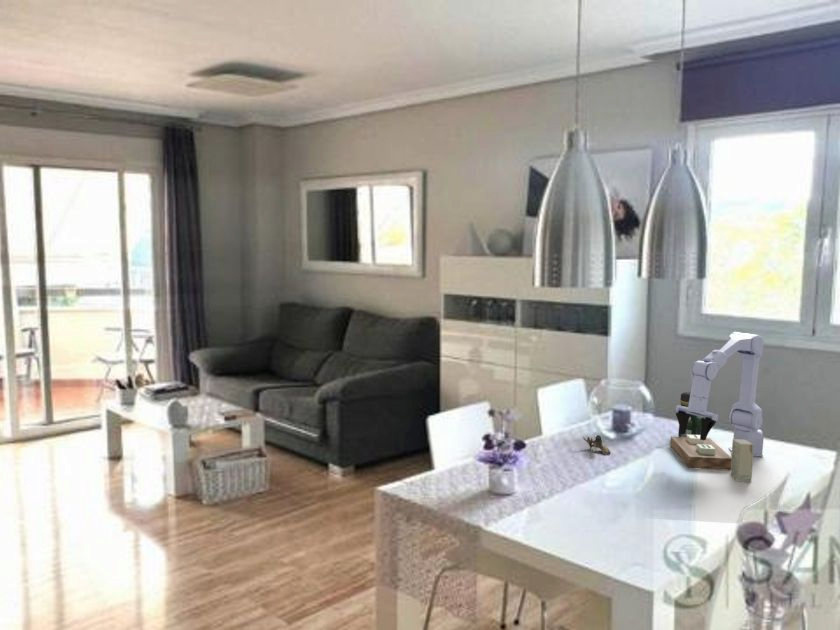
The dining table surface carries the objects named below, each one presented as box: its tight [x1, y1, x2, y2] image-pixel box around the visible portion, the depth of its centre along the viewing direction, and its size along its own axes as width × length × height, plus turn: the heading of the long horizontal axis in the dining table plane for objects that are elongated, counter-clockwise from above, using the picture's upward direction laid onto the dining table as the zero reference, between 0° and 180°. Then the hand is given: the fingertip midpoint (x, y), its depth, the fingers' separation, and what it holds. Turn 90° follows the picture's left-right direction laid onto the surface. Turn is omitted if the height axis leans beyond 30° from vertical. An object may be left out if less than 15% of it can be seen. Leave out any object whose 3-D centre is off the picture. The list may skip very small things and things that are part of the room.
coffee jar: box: [677, 390, 704, 437], centre depth 271 cm, size 10×8×19 cm
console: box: [669, 436, 732, 471], centre depth 247 cm, size 14×24×4 cm, turn 175°
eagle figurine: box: [582, 434, 611, 456], centre depth 252 cm, size 8×7×9 cm
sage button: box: [696, 444, 715, 455], centre depth 241 cm, size 5×5×4 cm
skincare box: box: [730, 438, 754, 483], centre depth 227 cm, size 6×4×12 cm
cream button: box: [686, 434, 704, 444], centre depth 253 cm, size 5×5×4 cm
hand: (692, 437), depth 236 cm, fingers open, 7 cm apart
